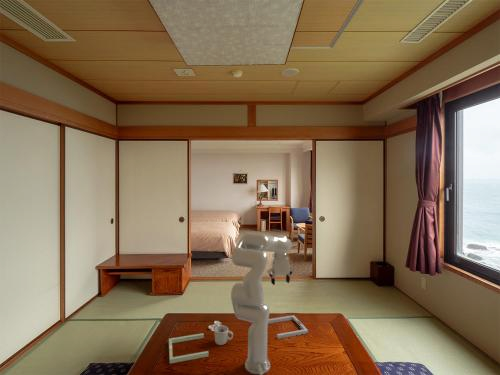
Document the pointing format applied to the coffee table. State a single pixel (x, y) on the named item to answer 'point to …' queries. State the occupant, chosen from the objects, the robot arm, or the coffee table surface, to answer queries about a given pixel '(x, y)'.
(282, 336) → the grey u-frame
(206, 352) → the mint green u-frame
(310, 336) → the coffee table surface
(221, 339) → the cup
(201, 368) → the coffee table surface
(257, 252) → the robot arm
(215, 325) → the white curved piece
